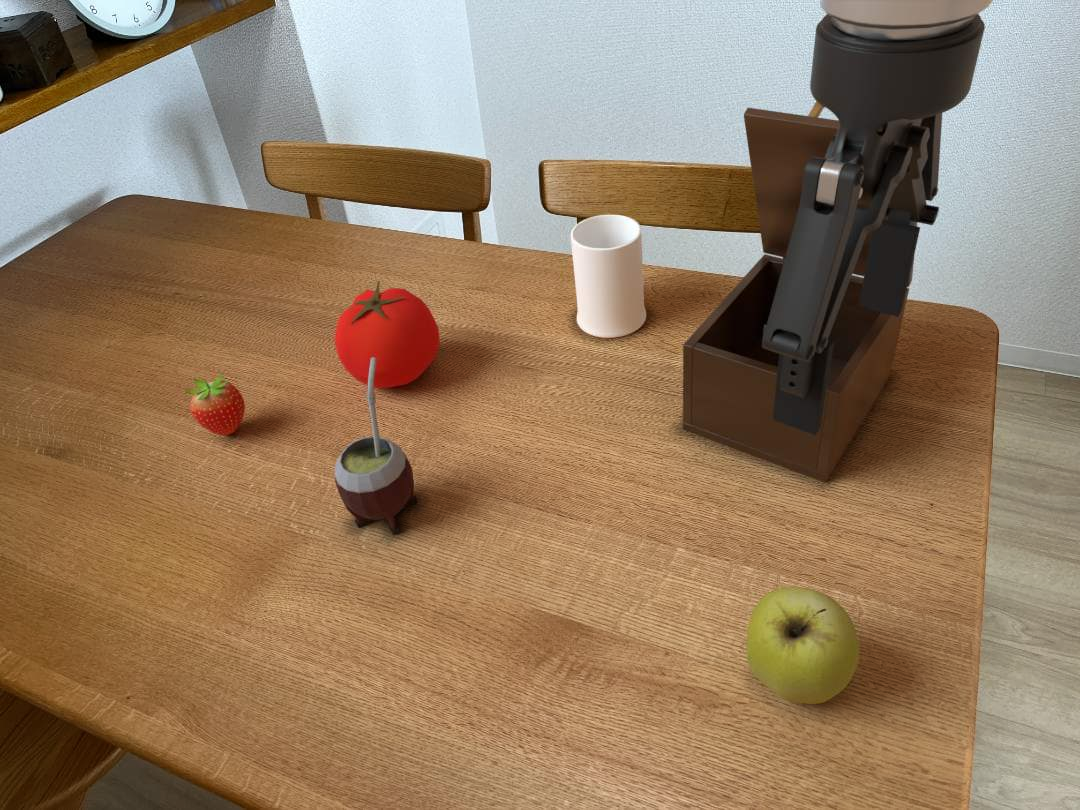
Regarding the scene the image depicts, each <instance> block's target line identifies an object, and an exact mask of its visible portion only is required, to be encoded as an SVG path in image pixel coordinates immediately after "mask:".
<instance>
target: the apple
mask: <svg viewBox="0 0 1080 810" xmlns="http://www.w3.org/2000/svg"><path fill="white" fill-rule="evenodd" d="M746 661H747V664H748V667H749V669H750V671H751V673H752V675H754V677H755V678H756V679H757V680H758V681H759V682H760V683H761V684H763V686H765V687H766V688H768V689H770V691H772V692H773V693H775V694H776V695H777V696H779V697H780V698H782V699H784V700H785V701H788V702H792V703H797V704H807V705H816V704H822V703H826V702H827V701H829V700H831V699H832V698H834V697H836V696H837V695H839V693H841V692H842V691H844V689H846V687H847V686H848V684H849V683H850V682H851V680H852V679H853V676H854V674H855V672H856V671H857V668H858V665H859V661H860V641H859V638H858V634H857V631H856V628H855V625H854V623H853V620H852V619H851V617H850V615H849V613H848V612H847V610H846V609H845V608H844V607H843V606H842V605H841V604H840V603H839V602H838V601H836V599H834V598H833V597H831V596H830V595H829V594H826V593H824V592H822V591H820V590H817V589H813V588H809V587H805V586H804V587H803V586H802V587H801V586H785V587H780V588H777V589H773V590H771V591H770V592H768V593H766V594H765V595H764V596H762V597H761V598H760V599H759V600H758V602H757V603H756V605H755V607H754V609H753V611H752V613H751V616H750V618H749V621H748V625H747V629H746Z"/></svg>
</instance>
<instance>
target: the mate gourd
mask: <svg viewBox="0 0 1080 810" xmlns="http://www.w3.org/2000/svg"><path fill="white" fill-rule="evenodd" d="M375 366H376V358H371V361H370V369H369V377H368V385H367V392H366V401H367V404H368V408H369V415H370V423H371V429H372V436H365V437H362V438H359V439H357V440H354V441H352V442H351V443H350V444H349V445H347V446H346V447H345V448H344V449H343V451H341V453H340V454H339V457H337V460H336V463H335V468H334V483H335V486H336V489H337V493H338V494H339V496H340V498H341V500H342V503H343V505H344V507H345V508H346V510H347V511H348V512H349V513H350V514H351V516H353V517H354V518H355V519H354V523H355V525H356V526H357V528H361V527H364V526H366V525H369V524H371V523H374V522H377V521H379V520H385V522H386V525H387V526H388V527H387V528H389V531H390V533H391V534H392V536H394V535H395V536H396V535H398V534H400V533H401V531H400V527H399V525H398V523H397V520H396V518H395V516H396V515H397V514H398V513H399V512H400V511H403V510H405V509H407V508H410V507H412V506H415V505H417V504H418V498H417V496H416V495H415V494H414V491H415V479H414V472H413V467H412V465H411V463H410V461H409V459H408V457H407V455H406V453H405V452H404V451H403V448H402V447H401V446H400V445H398V444H397V443H395V442H393V441H391V440H390V439H387V438H386V437H381V436H380V432H379V424H378V417H377V411H376V410H377V409H376V403H377V400H376V399H377V398H376V392H375V390H374V389H375V387H374V375H375Z"/></svg>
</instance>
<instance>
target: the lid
mask: <svg viewBox="0 0 1080 810" xmlns="http://www.w3.org/2000/svg"><path fill="white" fill-rule="evenodd" d="M823 110H824V107H823V106H821V105H820V104H819V103H818V102H817V101H816V100H815V103H814V105H813V106H812V108H811V110H810V111H809V113H808V115H804V114H803V115H802V114H796V113H790V112H789V113H788V112H782V111H775V110H768V109H762V108H755V107H747V108H746V110H745V111H744V113H743V121H744V127H745V135H746V143H747V147H748V155H749V161H750V163H749V164H750V169H751V174H752V175H751V176H752V184H753V190H754V197H755V204H756V211H757V218H758V225H759V233H760V238H761V246H762V252H763V254H766V255H770V256H774V257H779V258H783V259H785V257H786V253H787V249H788V246H789V242H790V238H791V235H792V231H793V228H794V224H795V220H796V217H797V213H798V209H799V206H800V199H801V192H802V186H803V179H804V171H805V167H806V165H807V163H808V161H809V159H810V158H811V157H818V158H824V159H825V155H826V152H827V150H828V147H829V144H830V141H831V139H832V137H833V136H834V135H835V134H836V135H837V131H838V129H839V127H840V122H839V120H838V119H831V118H824V117H820V116H821V114H822V112H823ZM857 208H858V209H868V208H870V207H864V206H859V205H857ZM883 219H884V220H887V219H888V216H885V215H884V218H883ZM918 224H919V222H915V223H914V226H917V227H918ZM871 234H872V231H870V232H869V233H868V234H867V235H866V238H865V241H864V244H863V246H862V249H861V252H860V254H859V257H858V260H857V262H856V265H855V268H854V270H853V273H852V275H854V276H858V277H864V274H865V268H866V263H867V257H868V251H869V246H870V240H871ZM914 263H915V258H914V259H913V263H912V268H911V272H910V277H909V281H908V286H907V288H910V286H911V285H912V282H913V274H914V265H915V264H914Z"/></svg>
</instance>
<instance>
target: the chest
mask: <svg viewBox="0 0 1080 810" xmlns="http://www.w3.org/2000/svg"><path fill="white" fill-rule="evenodd" d="M784 260H785V258H784V257H779V256H774V255H771V254H767V253H763V255H762V256H761V258H760V259H759V260H758V261H757V262H756V263H755V264H754V265H753V266H752V268H751V269H749V270H748V272H747V273H746V274H745V275H744V277H743V278H742V279H741V280H740V281H739V282H738V283H737V284H736V285H735V286H734V287H733V289H731V291H730V292H729V293H728V294H727V295H726V296H725V298H723V300H721V302H720V303H719V304H718V305H717V306H716V308H715V309H714V310H713V311H712V312H711V313H710V314H709V315H708V317H707V318H706V319H705V320H704V321H703V322H702V323H701V324H700V325H699V327H697V329H696V330H695V331H694V332H693V333H692V334H691V336H689V337H688V339H687V340H686V341H685V342H684V343H683V345H682V430H684V431H686V432H689V433H692V434H695V435H697V436H700V437H703V438H704V439H708V440H710V441H713V442H715V443H718V444H720V445H724V446H726V447H729V448H732V449H733V450H734V449H735V450H737V451H740V452H742V453H745V454H747V455H750V456H753V457H756V458H758V459H761V460H764V461H766V462H769V463H770V464H771V463H772V464H774V465H777V466H780V467H782V468H785V469H788V470H791V471H793V472H795V473H798V474H801V475H804V476H806V477H809V478H812V479H814V480H817V481H819V482H822V483H826V482H827V481H828V479H829V477H830V475H831V473H832V472H833V471H834V469H835V468H836V465H837V464H838V463H839V460H840V459H841V457H842V456H843V454H844V452H845V450H846V449H847V448H848V445H849V444H850V443H851V441H852V439H853V437H854V436H855V434H856V432H857V431H858V429H859V428H860V426H861V424H862V423H863V421H864V419H865V418H866V416H867V414H868V412H869V411H870V409H871V408H872V406H873V404H874V403H875V401H876V400H877V398H878V396H879V395H880V393H881V391H882V389H883V388H884V387H885V384H886V383H887V382H888V380H889V378H890V376H891V373H892V369H893V364H894V359H895V356H896V350H897V346H898V342H899V337H900V333H901V329H902V324H903V319H904V315H905V311H906V306H907V301H908V297H909V293H910V287H907V290H906V295H905V299H904V304H903V309H902V312H901V313H900V315H899V316H898V317H896V316H892V315H889V314H885V313H881V312H877V311H874V310H870V309H866V308H863V307H859V302H860V296H861V291H862V285H863V279H864V277H863V276H859V275H855V274H852V276H851V278H850V281H849V284H848V286H847V289H846V292H845V295H844V297H843V300H842V303H841V305H840V308H839V311H838V313H837V316H836V319H835V321H834V324H833V327H832V329H831V332H830V335H829V337H828V339H831V340H834V346H833V353H832V359H831V365H830V372H829V378H828V384H827V391H826V397H825V403H824V410H823V416H822V422H821V428H820V430H819V431H818V432H817V434H816V435H813V434H810V433H807V432H805V431H802V430H799V429H796V428H794V427H791V426H788V425H785V424H783V423H780V422H777V421H774V420H773V410H774V400H775V391H776V381H777V371H778V362H779V353H776V352H773V351H770V350H767V349H764V348H762V338H763V328H764V325H767V322H768V318H769V315H770V311H771V307H772V304H773V300H774V297H775V293H776V289H777V286H778V282H779V278H780V275H781V271H782V267H783V264H784Z"/></svg>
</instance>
